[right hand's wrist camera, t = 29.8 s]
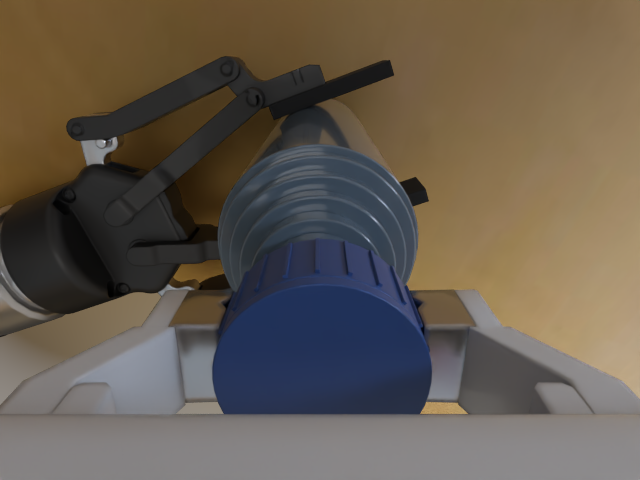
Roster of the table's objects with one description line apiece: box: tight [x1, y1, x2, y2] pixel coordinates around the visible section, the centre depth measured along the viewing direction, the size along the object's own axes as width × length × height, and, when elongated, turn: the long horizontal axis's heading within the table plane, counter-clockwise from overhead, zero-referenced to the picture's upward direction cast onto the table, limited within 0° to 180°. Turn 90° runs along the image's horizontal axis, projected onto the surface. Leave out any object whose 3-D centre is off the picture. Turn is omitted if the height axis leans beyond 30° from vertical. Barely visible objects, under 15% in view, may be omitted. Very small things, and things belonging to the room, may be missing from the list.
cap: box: [212, 238, 432, 414], centre depth 9 cm, size 4×4×2 cm
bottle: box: [218, 99, 418, 292], centre depth 20 cm, size 6×6×24 cm
